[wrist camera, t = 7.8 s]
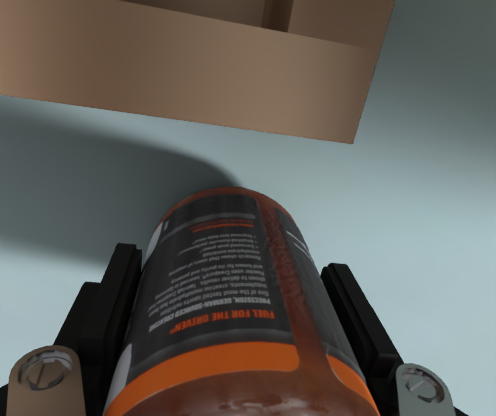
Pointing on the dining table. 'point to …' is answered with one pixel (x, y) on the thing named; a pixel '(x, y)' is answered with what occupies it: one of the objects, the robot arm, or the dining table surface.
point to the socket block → (200, 59)
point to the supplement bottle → (233, 320)
